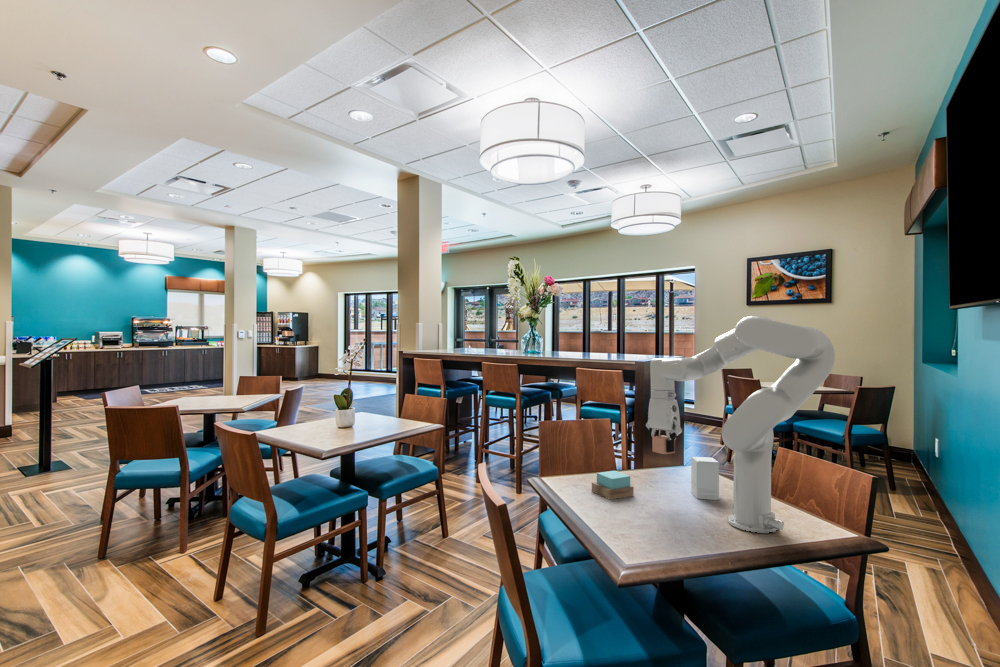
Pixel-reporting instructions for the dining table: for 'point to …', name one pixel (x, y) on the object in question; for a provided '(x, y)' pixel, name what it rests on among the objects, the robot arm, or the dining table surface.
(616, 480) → the teal top slab
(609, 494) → the walnut base slab
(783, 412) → the robot arm
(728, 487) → the dining table surface
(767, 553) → the dining table surface
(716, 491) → the supplement box
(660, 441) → the salmon orange cube
